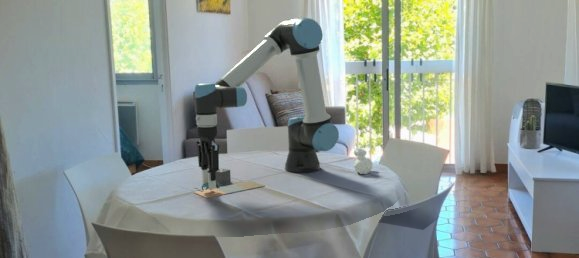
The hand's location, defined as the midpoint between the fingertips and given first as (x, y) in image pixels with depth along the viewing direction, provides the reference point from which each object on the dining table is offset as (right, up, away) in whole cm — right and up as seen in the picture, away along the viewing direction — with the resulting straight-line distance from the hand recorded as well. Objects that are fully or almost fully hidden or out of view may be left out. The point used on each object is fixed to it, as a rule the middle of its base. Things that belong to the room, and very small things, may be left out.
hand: (209, 187), depth 211 cm
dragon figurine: (0, -1, 0) cm, 1 cm away
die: (+3, 0, +17) cm, 17 cm away
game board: (+7, -1, +5) cm, 9 cm away
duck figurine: (+61, +3, +28) cm, 67 cm away
